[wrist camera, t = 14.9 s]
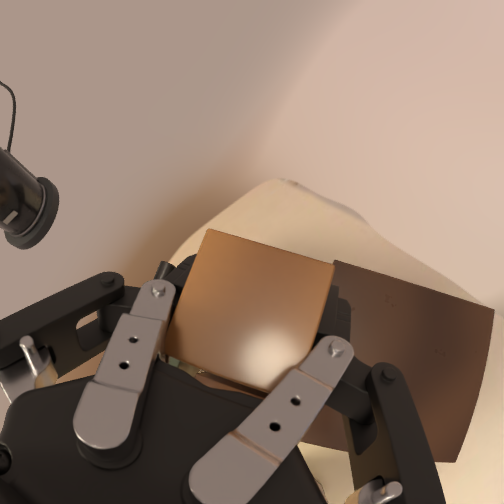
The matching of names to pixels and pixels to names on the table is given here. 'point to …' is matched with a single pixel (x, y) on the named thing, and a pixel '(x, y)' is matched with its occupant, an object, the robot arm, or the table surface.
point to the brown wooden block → (248, 310)
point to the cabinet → (415, 353)
